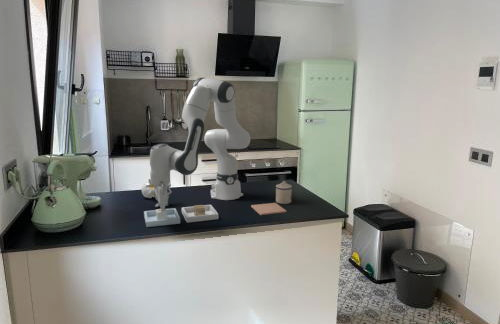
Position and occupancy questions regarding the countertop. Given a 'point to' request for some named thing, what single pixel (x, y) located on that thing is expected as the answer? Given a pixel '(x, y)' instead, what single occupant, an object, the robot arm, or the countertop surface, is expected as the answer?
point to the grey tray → (190, 217)
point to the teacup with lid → (283, 193)
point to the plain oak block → (199, 210)
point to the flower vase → (152, 191)
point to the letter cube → (161, 214)
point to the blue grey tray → (171, 219)
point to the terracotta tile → (268, 208)
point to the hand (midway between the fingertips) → (161, 208)
